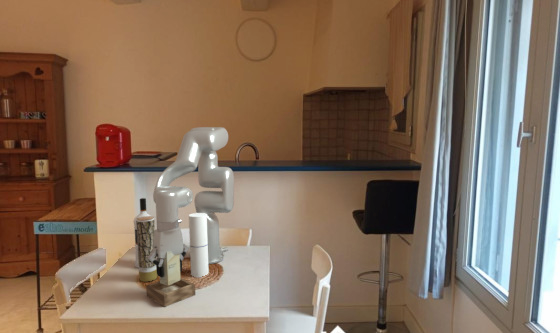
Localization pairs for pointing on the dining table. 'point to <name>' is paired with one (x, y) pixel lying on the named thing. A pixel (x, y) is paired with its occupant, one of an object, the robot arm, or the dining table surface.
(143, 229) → the paper tube
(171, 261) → the skincare box
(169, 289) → the brown wooden square tray
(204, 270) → the cylindrical container
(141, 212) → the vodka
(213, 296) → the dining table surface
